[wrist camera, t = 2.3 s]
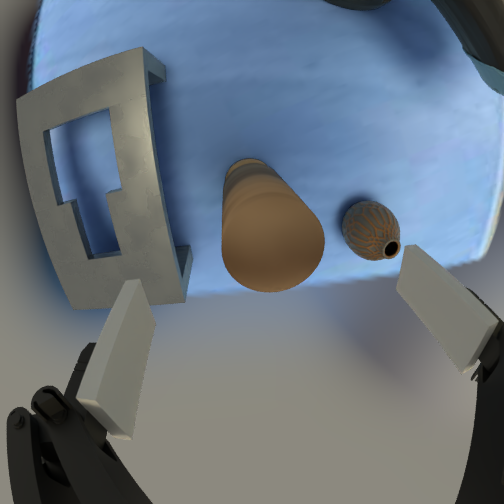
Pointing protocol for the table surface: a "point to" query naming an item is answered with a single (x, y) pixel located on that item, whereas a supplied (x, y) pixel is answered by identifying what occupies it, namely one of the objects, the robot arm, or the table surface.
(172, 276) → the keyhole plate
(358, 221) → the vase
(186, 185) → the table surface
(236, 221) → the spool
